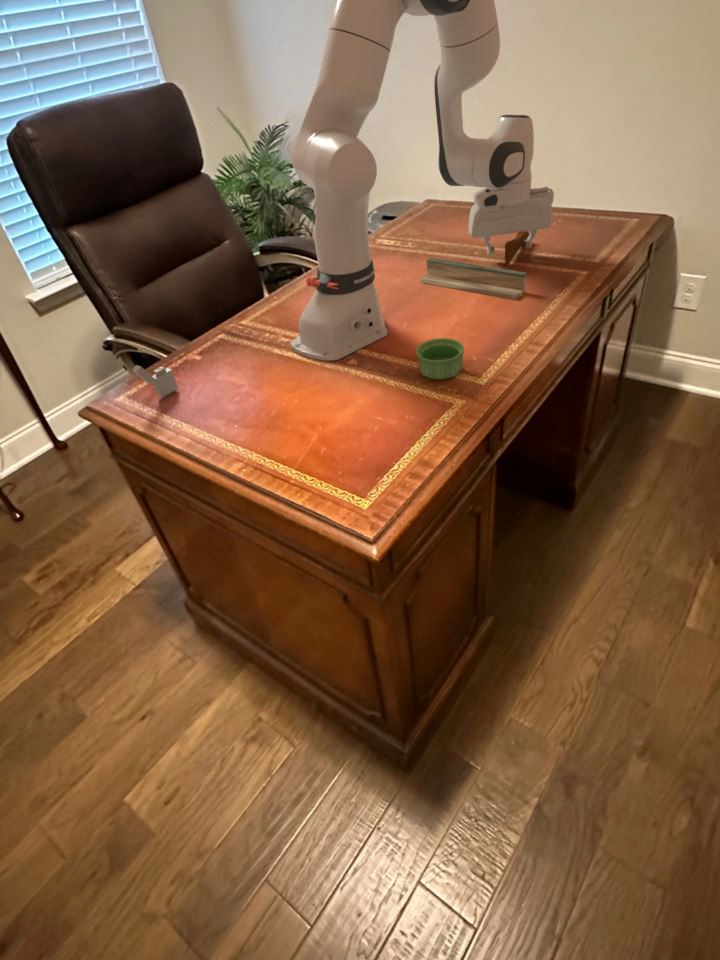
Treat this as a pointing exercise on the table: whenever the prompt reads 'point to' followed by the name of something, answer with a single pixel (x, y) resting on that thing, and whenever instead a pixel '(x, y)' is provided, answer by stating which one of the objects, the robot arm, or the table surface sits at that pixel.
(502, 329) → the table surface
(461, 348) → the ramekin
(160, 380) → the lighter
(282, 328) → the table surface
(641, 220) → the table surface
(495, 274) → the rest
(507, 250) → the primitive tool
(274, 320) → the table surface
